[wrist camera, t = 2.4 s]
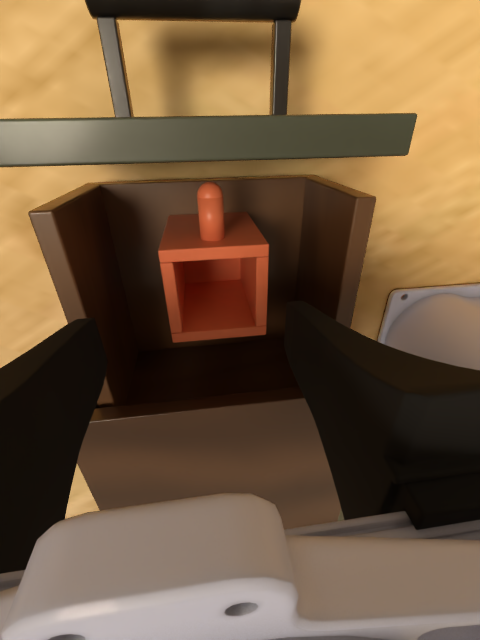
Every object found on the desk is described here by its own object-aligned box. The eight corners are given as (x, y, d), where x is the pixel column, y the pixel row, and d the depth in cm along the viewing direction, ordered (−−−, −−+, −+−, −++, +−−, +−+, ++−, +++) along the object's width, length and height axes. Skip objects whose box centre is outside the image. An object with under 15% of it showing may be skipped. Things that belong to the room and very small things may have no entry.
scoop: (247, 282, 19) (266, 335, 14) (178, 287, 18) (172, 343, 14) (246, 168, 16) (271, 184, 11) (162, 171, 15) (147, 189, 10)
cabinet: (107, 318, 21) (58, 425, 13) (313, 302, 23) (375, 390, 15) (145, 452, 29) (127, 569, 21) (297, 433, 30) (333, 537, 22)
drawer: (25, -2, 12) (-145, -138, 6) (344, 5, 14) (469, -100, 8) (121, 352, 22) (92, 440, 15) (306, 336, 23) (348, 410, 17)
